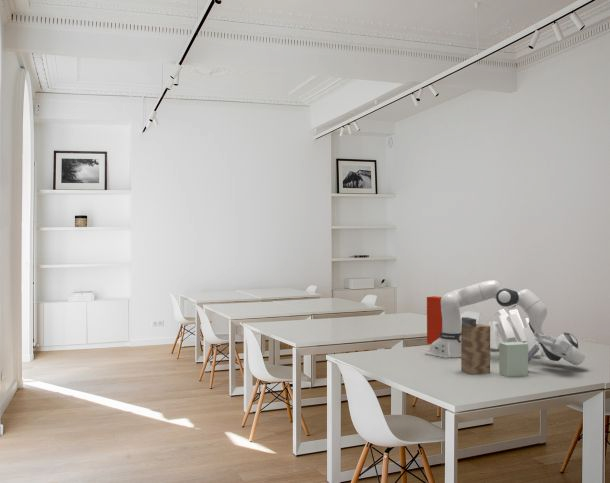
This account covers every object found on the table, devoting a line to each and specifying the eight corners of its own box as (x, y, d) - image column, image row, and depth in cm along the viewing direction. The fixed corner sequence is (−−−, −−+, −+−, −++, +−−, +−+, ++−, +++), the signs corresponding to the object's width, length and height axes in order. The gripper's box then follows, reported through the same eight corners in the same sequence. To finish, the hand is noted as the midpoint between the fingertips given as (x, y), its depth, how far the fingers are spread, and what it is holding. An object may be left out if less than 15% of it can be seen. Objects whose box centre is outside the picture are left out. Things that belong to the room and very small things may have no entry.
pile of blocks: (554, 363, 360) (545, 310, 376) (538, 351, 339) (529, 295, 355) (500, 371, 379) (493, 320, 395) (481, 360, 358) (475, 307, 375)
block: (519, 372, 311) (519, 341, 311) (527, 375, 305) (527, 344, 305) (499, 373, 308) (499, 342, 308) (507, 376, 301) (507, 345, 301)
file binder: (446, 347, 383) (446, 299, 383) (426, 343, 397) (426, 296, 397) (454, 346, 388) (454, 298, 388) (434, 342, 402) (434, 296, 402)
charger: (537, 343, 311) (527, 339, 310) (540, 350, 306) (529, 346, 305) (519, 365, 320) (508, 361, 318) (521, 371, 315) (510, 367, 314)
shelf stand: (480, 369, 319) (480, 316, 319) (490, 373, 310) (490, 318, 310) (461, 370, 315) (461, 317, 315) (470, 374, 307) (470, 319, 307)
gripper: (548, 338, 325) (530, 327, 321) (575, 345, 305) (556, 332, 302) (543, 348, 324) (525, 337, 321) (570, 355, 304) (550, 343, 301)
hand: (540, 335), depth 311 cm, fingers open, 8 cm apart
